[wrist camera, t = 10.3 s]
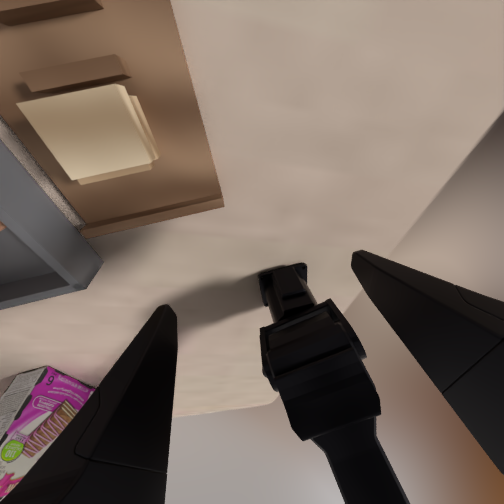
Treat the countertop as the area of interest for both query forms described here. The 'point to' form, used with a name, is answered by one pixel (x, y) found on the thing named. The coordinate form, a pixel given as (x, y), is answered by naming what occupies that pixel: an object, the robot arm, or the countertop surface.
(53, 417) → the candy bar box
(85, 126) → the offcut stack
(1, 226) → the slat
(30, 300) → the tray
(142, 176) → the rack
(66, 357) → the countertop surface
